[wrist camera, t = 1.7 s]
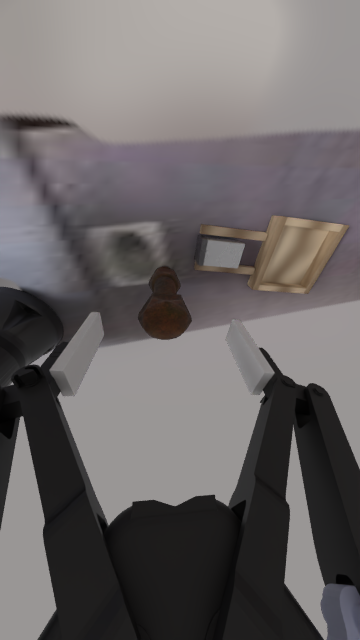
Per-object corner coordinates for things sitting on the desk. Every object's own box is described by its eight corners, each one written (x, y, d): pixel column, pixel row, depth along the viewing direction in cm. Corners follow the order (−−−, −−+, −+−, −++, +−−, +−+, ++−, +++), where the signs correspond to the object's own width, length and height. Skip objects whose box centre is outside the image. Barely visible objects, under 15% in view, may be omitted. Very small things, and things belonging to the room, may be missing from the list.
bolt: (161, 251, 27) (160, 288, 15) (185, 268, 29) (201, 313, 17) (144, 279, 30) (130, 329, 17) (167, 293, 32) (169, 347, 19)
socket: (192, 280, 30) (194, 285, 28) (203, 206, 24) (207, 205, 22) (299, 288, 33) (307, 293, 31) (335, 224, 27) (349, 225, 25)
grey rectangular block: (194, 259, 28) (198, 265, 25) (198, 235, 26) (202, 239, 23) (230, 262, 29) (237, 268, 26) (236, 239, 27) (245, 243, 24)
